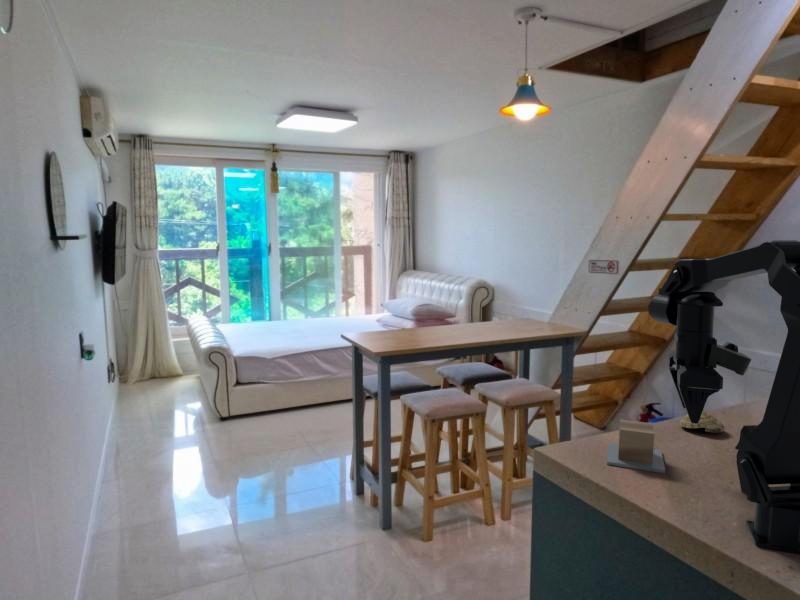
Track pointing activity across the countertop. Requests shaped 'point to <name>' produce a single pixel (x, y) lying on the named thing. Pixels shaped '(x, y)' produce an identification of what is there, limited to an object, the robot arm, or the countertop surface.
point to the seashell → (704, 423)
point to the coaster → (655, 467)
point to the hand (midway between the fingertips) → (690, 415)
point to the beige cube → (636, 441)
